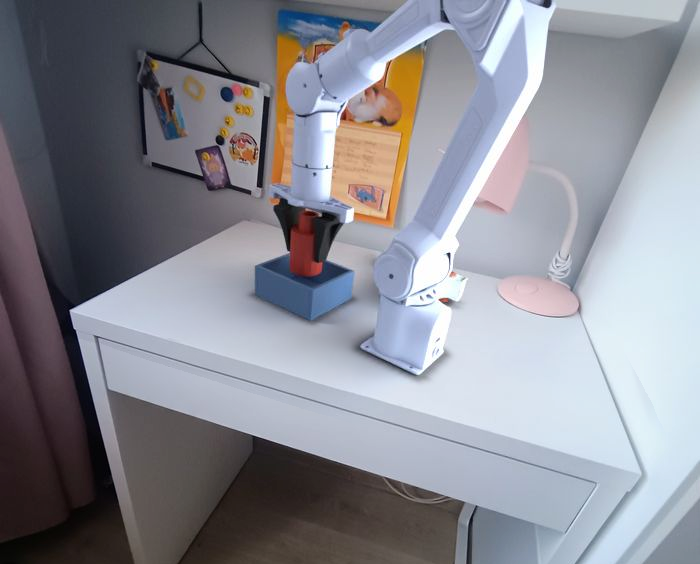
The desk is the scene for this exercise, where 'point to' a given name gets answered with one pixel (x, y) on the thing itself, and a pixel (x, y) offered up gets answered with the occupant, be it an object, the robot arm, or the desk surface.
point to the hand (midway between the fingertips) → (306, 255)
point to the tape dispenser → (451, 288)
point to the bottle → (304, 246)
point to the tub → (303, 287)
